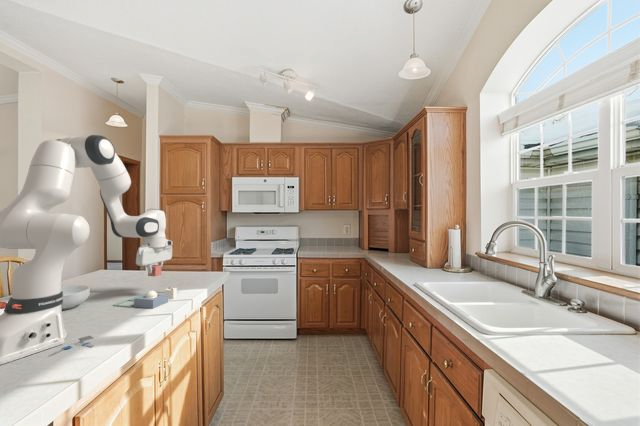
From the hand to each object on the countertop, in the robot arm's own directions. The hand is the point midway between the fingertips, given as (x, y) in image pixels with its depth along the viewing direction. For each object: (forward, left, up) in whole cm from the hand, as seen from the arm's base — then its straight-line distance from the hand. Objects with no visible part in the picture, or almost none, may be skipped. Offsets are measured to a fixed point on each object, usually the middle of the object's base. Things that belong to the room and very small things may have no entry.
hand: (154, 272), depth 146 cm
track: (-8, 0, -11) cm, 13 cm away
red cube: (0, 0, -2) cm, 2 cm away
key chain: (-53, -18, -11) cm, 57 cm away
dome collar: (-14, -10, -11) cm, 20 cm away
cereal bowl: (-26, +21, -11) cm, 35 cm away
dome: (-14, -10, -10) cm, 20 cm away
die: (-3, -11, -11) cm, 15 cm away
